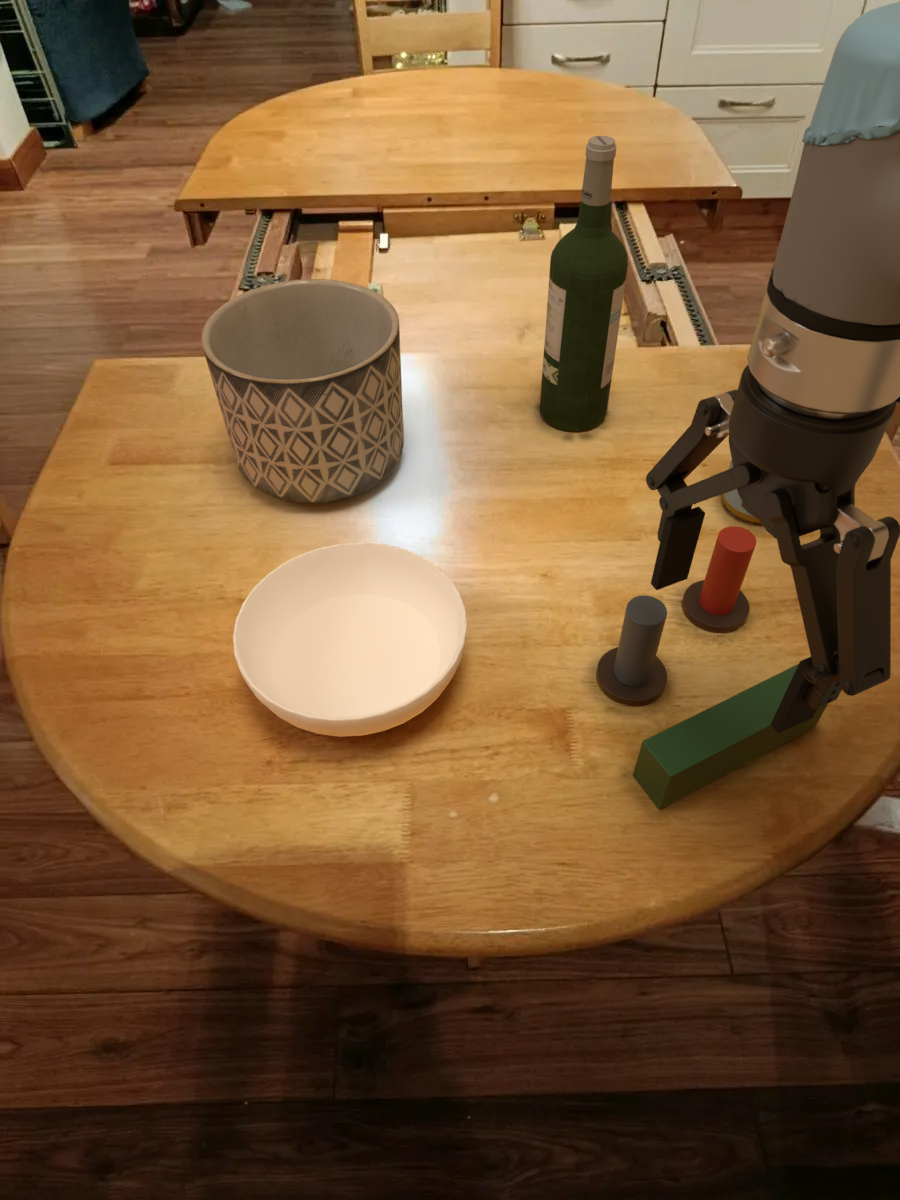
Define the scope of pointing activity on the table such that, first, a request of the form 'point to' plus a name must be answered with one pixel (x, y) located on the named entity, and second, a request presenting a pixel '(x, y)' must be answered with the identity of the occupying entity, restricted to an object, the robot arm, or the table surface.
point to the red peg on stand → (722, 584)
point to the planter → (309, 387)
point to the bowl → (350, 638)
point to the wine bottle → (584, 304)
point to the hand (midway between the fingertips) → (725, 646)
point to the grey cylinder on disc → (636, 655)
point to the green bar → (716, 741)
